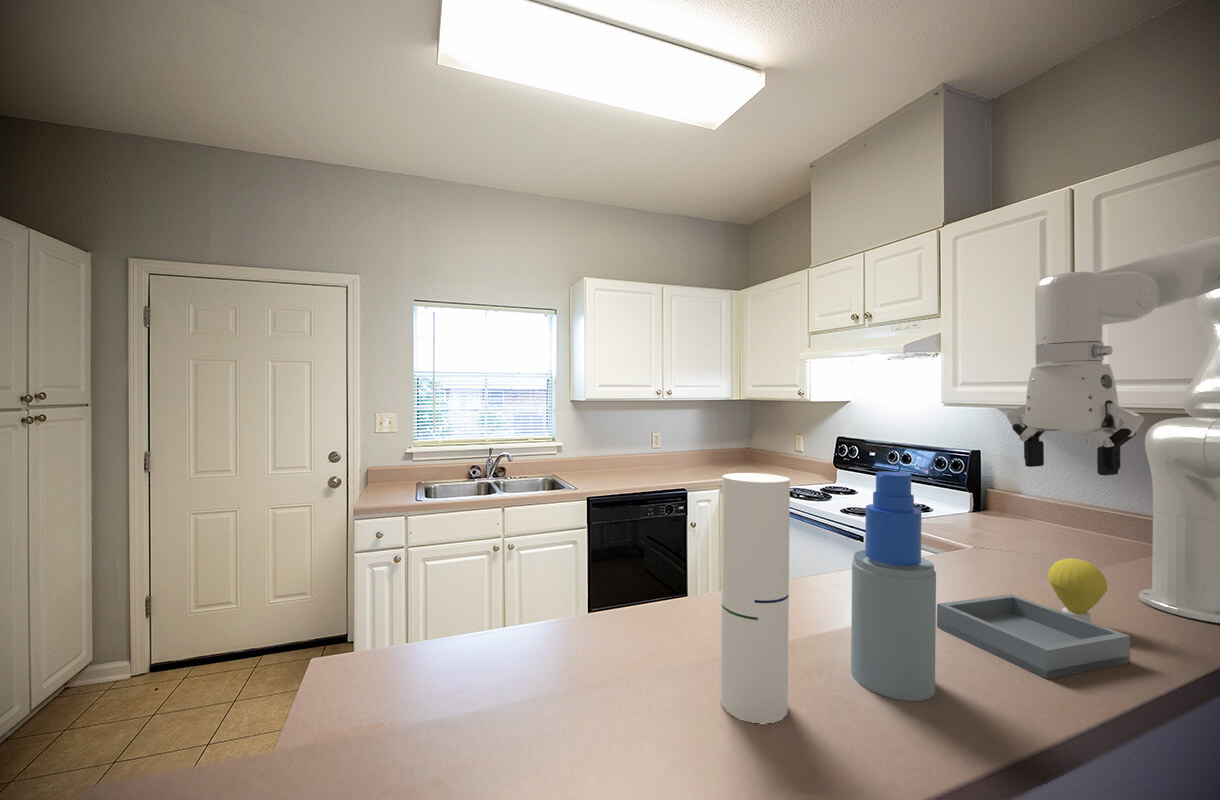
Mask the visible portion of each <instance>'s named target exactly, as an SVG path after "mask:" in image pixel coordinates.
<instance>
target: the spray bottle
mask: <svg viewBox="0 0 1220 800" xmlns="http://www.w3.org/2000/svg"><path fill="white" fill-rule="evenodd" d="M864 538H865V543H864V544H865V546H864V547H865V549H864V550H858V551H856V552H854V554H853V560H852V561H851V623H850V624H851V626H850V627H851V630H850V633H851V635H850V636H851V637H850V638H851V639H850V640H851V641H850V642H851V645H850V646H851V647H850V650H851V651H850V673H851V674H852V675H851V676H852V677H853V679H854V680H855V681H856V682H857V683H858V684H859V685H860V686H862V687H863V688H865V689H867V690H869V691H871V692H874V693H876V694H878V695H881V696H883V697H887V698H891V699H895V700H899V701H907V702H919V701H923V702H924V701H925V700H928V699H931V698H933V696H934V695H935V694H936V634H937V633H936V630H937V629H936V627H937V616H936V615H937V572H936V571H935V564H934V563H933V562H932V561H930V560H929V559H926V558H923V557H922V510H920V509H918V508H915V496H914V494H912V473H911V472H907V471H906V472H905V471H876V472H875V491H872V504H871V503H870V504H867V505H866V506H865V537H864Z"/></svg>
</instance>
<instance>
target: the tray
mask: <svg viewBox="0 0 1220 800" xmlns="http://www.w3.org/2000/svg"><path fill="white" fill-rule="evenodd" d="M936 615H937V616H936V627H937V629H940V630H942V631H945V632H946V633H949V634H951V635H952V636H955V637H957V638H959V639H961V640H963V641H965V642H967V643H970V644H972V645H974V646H976V647H978V648H980V649H982V650H984V651H986V652H989V653H991V654H993V655H995V656H997V657H999V658H1001V659H1003V660H1005V661H1008V662H1010V663H1011V664H1013V665H1015V666H1018V667H1020V668H1022V669H1023V670H1027V671H1029V672H1030V673H1033V674H1035V675H1037V676H1039V677H1041V678H1043V679H1046V680H1051V679H1055V678H1060V677H1065V676H1066V677H1067V676H1070V675H1074V674H1082V673H1085V672H1090V671H1091V672H1092V671H1095V670H1101V669H1106V668H1110V667H1111V668H1112V667H1115V666H1121V665H1126V664H1131V661H1130V660H1131V635H1129V634H1125V633H1123V632H1120V631H1117V630H1114V629H1112V628H1109V627H1105V626H1104V625H1100V624H1097V623H1094V622H1091V621H1090V622H1089V621H1086V620H1083V619H1080V618H1078V617H1075V616H1072V615H1069V614H1066V613H1063V612H1062V611H1060V610H1057V609H1055V608H1051V607H1049V606H1046V605H1043V604H1040V603H1037V602H1034V601H1031V600H1028V599H1025V598H1023V597H1020V596H1017V595H1014V594H1005V595H996V596H989V597H988V596H987V597H980V598H972V599H963V600H956V601H950V602H941V603H936Z"/></svg>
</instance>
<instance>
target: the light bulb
mask: <svg viewBox="0 0 1220 800" xmlns="http://www.w3.org/2000/svg"><path fill="white" fill-rule="evenodd" d="M1047 580H1048V583H1049V584H1050V585H1051V587H1052V589H1053V591H1054V593H1055V595H1056V597H1057V598H1058V599H1059V600H1060V601H1061V603H1062V604H1063V606H1064V607H1063V608H1062V610H1061V612H1063V613H1066V614H1069V615H1072V616H1075V617H1078V618H1080V619H1083V620H1086V621H1089V622H1091V621H1092V614H1091V613H1090V612H1089V611H1090V610H1091V609H1092V608H1094V607H1095V606H1096V605H1097V603H1099V601H1100V600H1101V598H1103V596H1104V595H1105V594H1106V592H1107V591H1108V583H1107V579H1106V578H1105V576H1104V574H1103V573H1102V571H1101V570H1100V569H1099V568H1098V567H1096V566H1095V565H1094V564H1092V563H1090V562H1088V561H1086V560H1083V559H1079V558H1072V557H1070V558H1063V559H1060V560H1058V561H1056V562H1054V564H1052V565H1051V567H1050V568H1049V569H1048V573H1047Z"/></svg>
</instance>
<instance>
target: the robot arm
mask: <svg viewBox="0 0 1220 800" xmlns="http://www.w3.org/2000/svg"><path fill="white" fill-rule="evenodd" d="M1193 298H1197V299H1196V310H1197V313H1198V317H1199V319H1200V322H1201V325H1202V328H1203V331H1204V333H1205V336H1206V339H1207V342H1208V343H1207V344H1208V351H1207V353H1206V355H1205V357H1204V358H1203V361H1202V363H1200V366H1199V367H1198V370H1197V371H1196V373H1195V375H1194V377H1193V378H1192V380H1191V382H1190V383H1189V386H1188V387H1187V390H1186V392H1185V395H1184V396H1183V409H1184V410H1185V412H1186V413H1187V414H1188V415H1189V416H1187V417H1185V416H1183V417H1174V418H1167V419H1163V420H1160V421H1158V422H1156V423H1154V424H1153V425H1152V426H1151V427H1149V429H1148V430H1147V431H1146V434H1145V437H1144V448H1145V453H1146V457H1147V461H1148V464H1149V469H1150V474H1151V485H1152V563H1151V564H1152V566H1151V567H1152V568H1151V569H1152V570H1151V571H1152V579H1151V581H1152V582H1151V583H1152V584H1151V585H1152V586H1151V588H1147V589H1141V591H1139V593H1138V594H1139V595H1138V596H1139V597H1138V598H1139V599H1140V601H1142V603H1144V604H1146V605H1148V606H1150V607H1152V608H1155V609H1158V610H1160V611H1163V612H1166V613H1169V614H1174V615H1177V616H1181V617H1184V618H1189V619H1194V620H1198V621H1204V622H1210V623H1214V624H1220V235H1219V236H1216V237H1215V236H1214V237H1210V238H1207V239H1206V238H1205V239H1203V240H1198V241H1196V242H1192V243H1190V244H1185V245H1184V246H1180V247H1177V248H1174V249H1171V250H1167V251H1164V252H1160V253H1158V254H1154V255H1150V256H1147V257H1144V258H1139V259H1137V260H1134V261H1130V262H1127V263H1124V264H1121V265H1117V266H1114V267H1111V268H1108V269H1104V270H1101V271H1098V272H1093V271H1074V272H1073V271H1072V272H1065V273H1058V274H1054V275H1053V274H1052V275H1049V276H1046V277H1043V278H1042V279H1040V280H1039V281H1037V283H1036V285H1035V288H1034V318H1035V319H1034V320H1035V321H1034V324H1035V325H1034V326H1035V327H1034V329H1035V332H1034V334H1035V338H1034V339H1035V341H1034V342H1035V367H1031V369H1030V374H1029V378H1028V382H1027V390H1026V398H1025V404H1024V405H1022V406H1020V407H1018V408H1016V409H1014V410H1012V411H1010V412H1008V413H1007V415H1006V417H1007V419H1008V422H1009V423H1010V425H1011V427H1012V428H1011V429H1012V430H1013V431H1014V432H1015V433H1016V434H1017V436H1019V440H1020V441H1022V442H1023V458H1024V462H1025V463H1024V465H1025V466H1026V468H1027V467H1029V468H1034V467H1043V466H1044V465H1045V454H1044V453H1045V452H1044V451H1045V450H1044V448H1045V447H1044V446H1045V443H1044V441H1043V440H1040V439H1041V438H1042V437H1043V435H1045V434H1046V432H1066V433H1067V432H1068V433H1091V434H1092V436H1094V438H1095V439H1097V440H1098V442H1099V443H1100V444H1101V445H1102V446H1098V447H1097V449H1096V451H1097V454H1096V455H1097V456H1096V458H1097V460H1096V461H1097V465H1096V466H1097V474H1098V475H1100V476H1114V475H1118V474H1119V470H1120V468H1121V447H1124V446H1125V445H1126V443H1127V442H1129V441H1130V440H1131V439H1133V438H1134V437H1135V436H1136V435H1137V431H1138V430H1139V429H1140V427H1141V426H1142V424H1144V421H1145V416H1143V415H1141V414H1138V413H1136V412H1135V411H1133V410H1129V409H1127V408H1124V407H1123V406H1120V405H1119V397H1118V390H1117V385H1116V382H1115V381H1116V380H1115V378H1114V377H1115V376H1114V373H1113V370H1112V367H1111V365H1110V364H1109V363H1103V361H1104V357H1106V356H1111V355H1112V354H1113V351H1114V349H1113V347H1112V346H1111V345H1104V342H1103V325H1104V326H1105V325H1113V324H1120V323H1122V324H1123V323H1126V322H1134V321H1136V320H1139V319H1140V320H1141V319H1142V318H1145V317H1146V316H1148V315H1149V314H1152V312H1153V311H1154V310H1155V309H1157V308H1162V307H1168V306H1172V305H1175V304H1180V303H1183V302H1185V301H1188V300H1191V299H1193ZM1024 417H1025V421H1026V423H1024V421H1023V418H1024ZM1120 420H1122V422H1123V424H1122V427H1121V428H1120V429H1119V427H1120V423H1121V422H1120Z"/></svg>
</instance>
